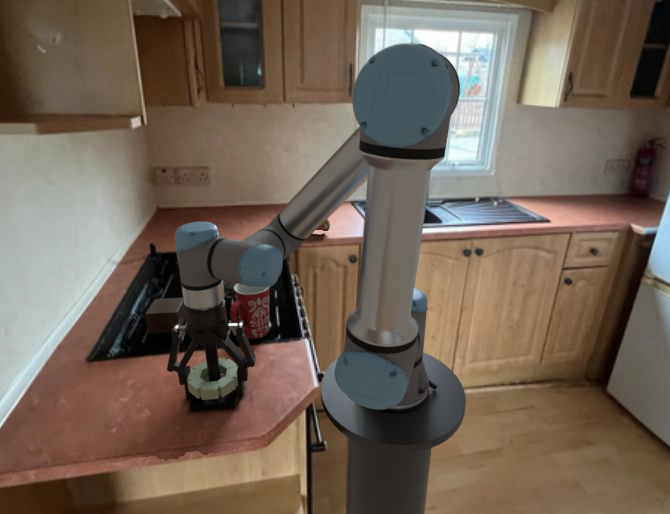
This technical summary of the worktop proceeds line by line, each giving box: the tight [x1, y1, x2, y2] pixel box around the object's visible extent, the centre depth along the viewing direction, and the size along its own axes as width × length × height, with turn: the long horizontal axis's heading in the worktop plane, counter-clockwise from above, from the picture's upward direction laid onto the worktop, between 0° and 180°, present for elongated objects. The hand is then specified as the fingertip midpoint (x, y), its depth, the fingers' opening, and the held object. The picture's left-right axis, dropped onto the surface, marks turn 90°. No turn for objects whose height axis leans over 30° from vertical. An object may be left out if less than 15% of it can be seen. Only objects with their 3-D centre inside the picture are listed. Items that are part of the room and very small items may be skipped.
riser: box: [144, 297, 186, 334], centre depth 111 cm, size 8×8×6 cm
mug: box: [229, 283, 271, 340], centre depth 105 cm, size 13×9×14 cm
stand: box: [188, 344, 239, 413], centre depth 85 cm, size 9×9×14 cm
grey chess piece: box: [223, 281, 237, 299], centre depth 126 cm, size 6×6×12 cm
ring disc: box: [187, 357, 238, 400], centre depth 85 cm, size 10×10×2 cm
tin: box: [316, 218, 331, 232], centre depth 180 cm, size 15×3×8 cm, turn 76°
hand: (216, 393), depth 87 cm, fingers open, 10 cm apart
